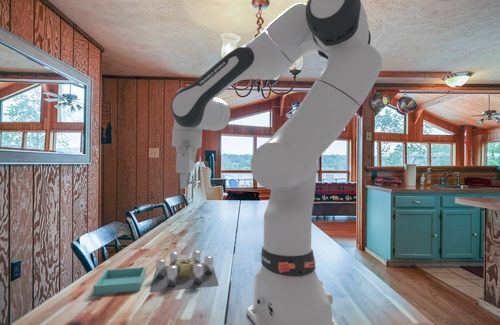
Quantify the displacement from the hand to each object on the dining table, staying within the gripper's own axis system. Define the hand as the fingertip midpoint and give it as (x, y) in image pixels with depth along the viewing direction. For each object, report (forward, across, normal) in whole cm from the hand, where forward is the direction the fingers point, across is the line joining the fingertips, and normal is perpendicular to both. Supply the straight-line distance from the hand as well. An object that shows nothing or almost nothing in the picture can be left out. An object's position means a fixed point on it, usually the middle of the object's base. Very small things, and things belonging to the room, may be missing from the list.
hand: (185, 186), depth 82 cm
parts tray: (+27, -6, +15) cm, 32 cm away
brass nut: (+26, -2, -1) cm, 27 cm away
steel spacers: (+27, -2, -1) cm, 27 cm away
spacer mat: (+27, -2, -1) cm, 27 cm away
